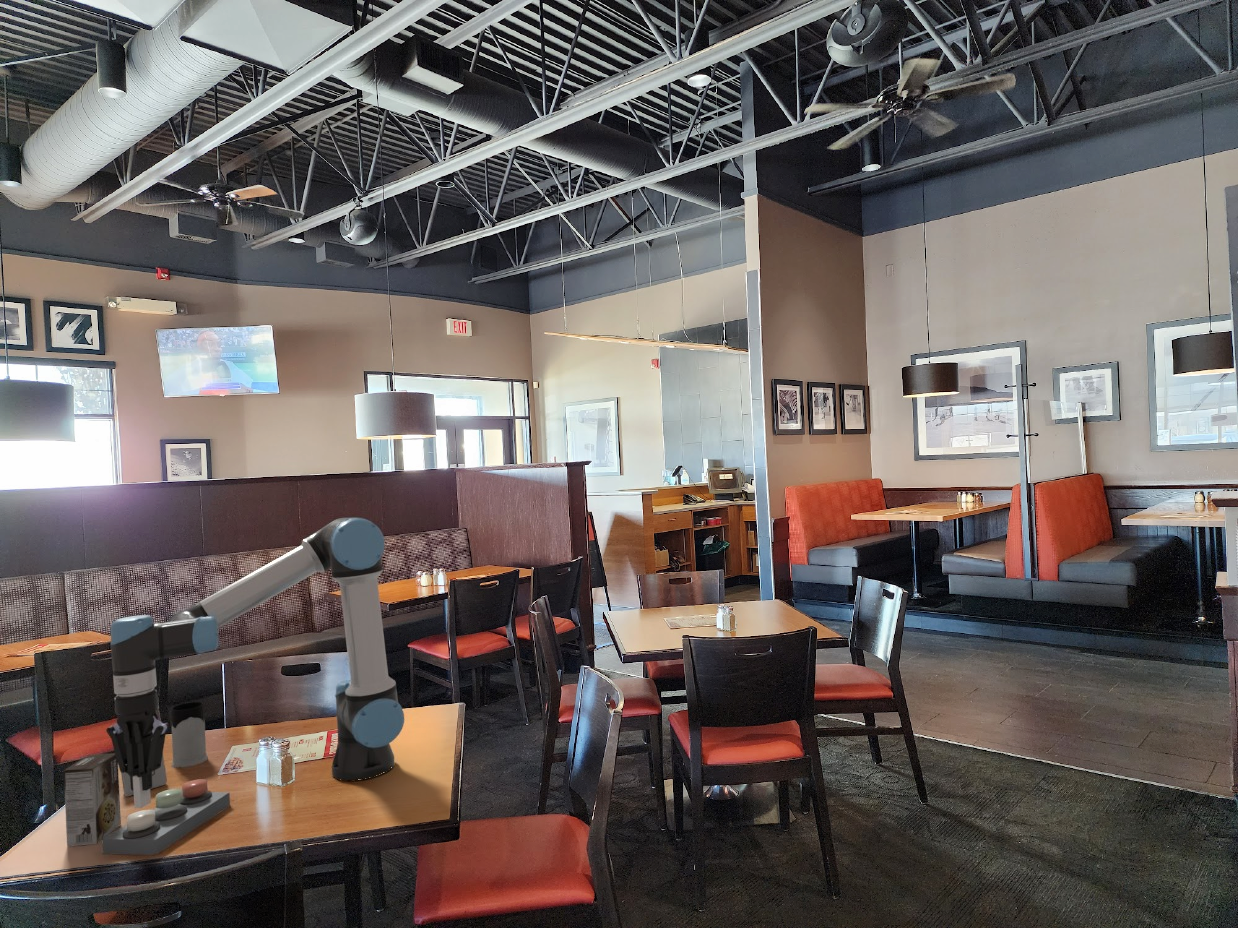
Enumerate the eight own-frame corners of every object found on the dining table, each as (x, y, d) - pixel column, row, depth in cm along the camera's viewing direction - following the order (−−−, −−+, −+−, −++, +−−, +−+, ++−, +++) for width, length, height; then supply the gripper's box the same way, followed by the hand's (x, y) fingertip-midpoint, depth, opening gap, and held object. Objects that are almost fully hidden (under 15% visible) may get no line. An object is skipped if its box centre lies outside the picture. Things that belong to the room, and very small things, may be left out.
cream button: (161, 820, 160) (160, 809, 160) (142, 831, 155) (142, 820, 155) (139, 819, 161) (139, 809, 161) (121, 830, 156) (120, 819, 156)
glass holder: (174, 770, 201) (171, 713, 202) (165, 756, 212) (163, 702, 213) (211, 760, 207) (208, 705, 207) (200, 748, 218) (198, 695, 218)
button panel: (230, 805, 177) (229, 789, 177) (155, 854, 154) (154, 837, 154) (183, 804, 178) (182, 789, 178) (102, 853, 156) (102, 836, 156)
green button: (187, 798, 168) (187, 788, 168) (171, 808, 163) (170, 798, 163) (167, 798, 169) (167, 788, 169) (150, 808, 164) (149, 797, 164)
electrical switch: (125, 798, 184) (123, 758, 185) (118, 795, 187) (115, 756, 188) (168, 784, 192) (165, 747, 192) (159, 782, 195) (157, 745, 195)
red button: (212, 788, 176) (212, 778, 176) (197, 797, 171) (197, 787, 171) (192, 788, 177) (192, 778, 177) (177, 797, 172) (176, 787, 172)
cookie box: (91, 827, 169) (88, 753, 169) (122, 824, 169) (119, 751, 169) (65, 847, 160) (61, 769, 160) (97, 844, 160) (94, 767, 160)
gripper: (93, 697, 156) (100, 813, 156) (150, 696, 154) (157, 813, 154) (122, 687, 163) (128, 797, 163) (177, 685, 161) (183, 797, 161)
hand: (142, 805), depth 159 cm, fingers closed
